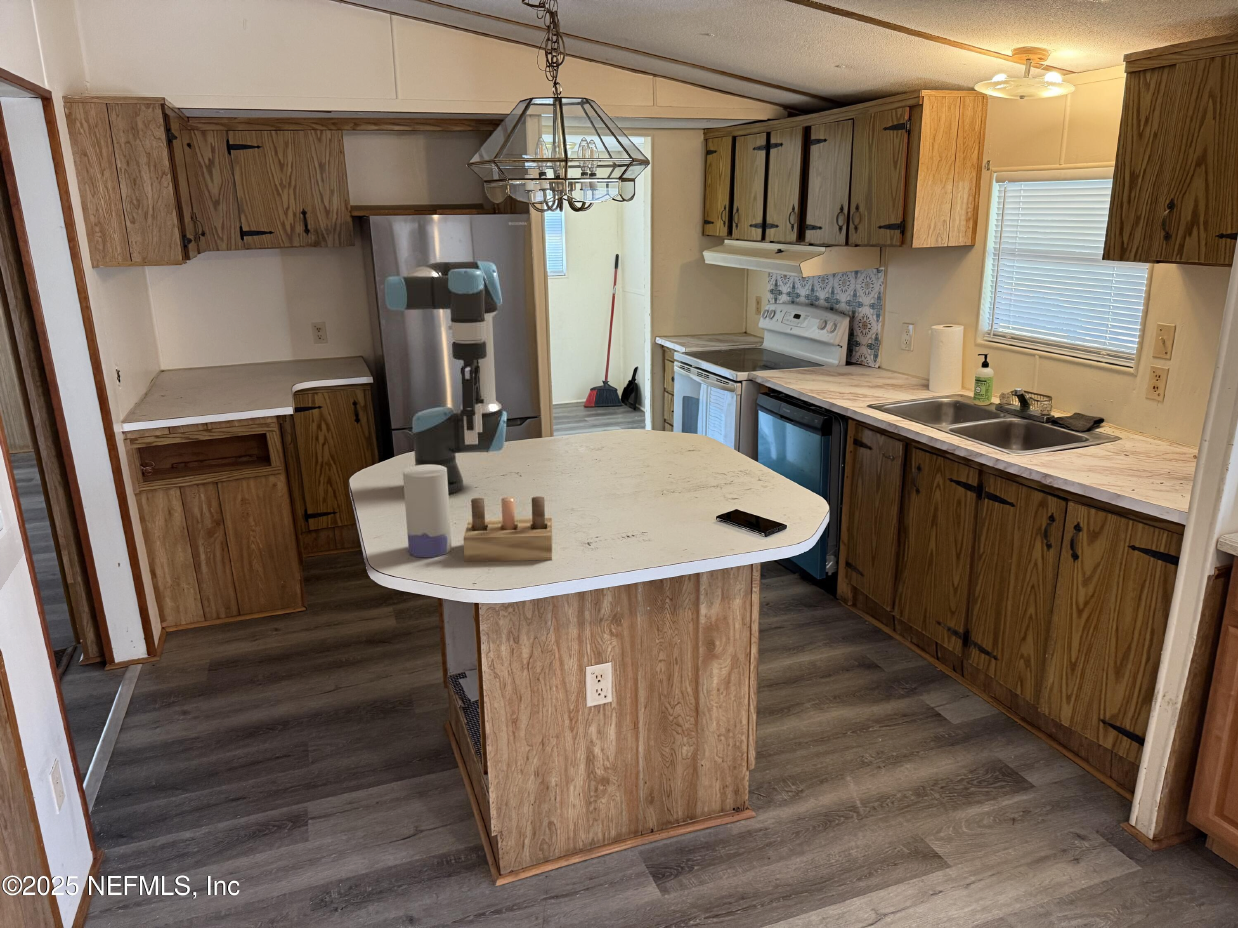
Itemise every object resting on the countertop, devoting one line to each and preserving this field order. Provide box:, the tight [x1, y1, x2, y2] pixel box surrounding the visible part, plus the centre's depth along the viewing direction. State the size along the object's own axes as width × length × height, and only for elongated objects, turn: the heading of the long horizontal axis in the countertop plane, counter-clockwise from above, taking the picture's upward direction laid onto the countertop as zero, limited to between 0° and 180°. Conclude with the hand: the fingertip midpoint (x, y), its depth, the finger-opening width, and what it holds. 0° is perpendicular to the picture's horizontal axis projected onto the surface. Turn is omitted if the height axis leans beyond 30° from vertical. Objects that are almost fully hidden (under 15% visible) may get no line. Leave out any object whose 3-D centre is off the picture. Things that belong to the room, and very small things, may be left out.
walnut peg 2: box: [531, 496, 546, 530], centre depth 203 cm, size 3×3×8 cm
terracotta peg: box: [501, 496, 516, 530], centre depth 202 cm, size 3×3×8 cm
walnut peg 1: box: [470, 497, 486, 531], centre depth 202 cm, size 3×3×8 cm
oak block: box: [462, 517, 553, 563], centre depth 204 cm, size 12×20×6 cm, turn 94°
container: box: [402, 465, 453, 558], centre depth 203 cm, size 10×10×20 cm
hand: (473, 437), depth 196 cm, fingers open, 10 cm apart
